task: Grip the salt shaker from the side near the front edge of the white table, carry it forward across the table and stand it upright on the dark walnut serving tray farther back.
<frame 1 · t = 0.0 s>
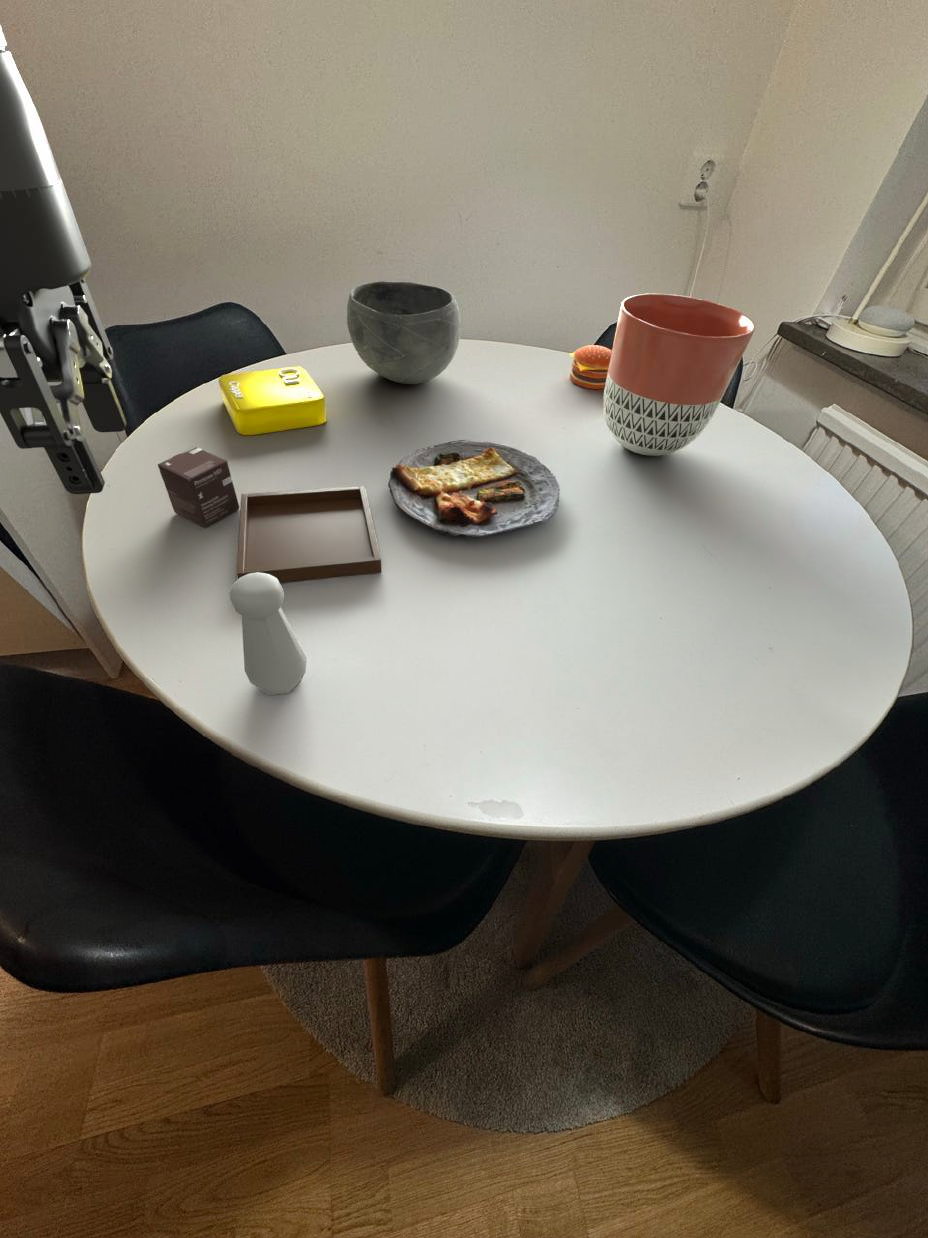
hand: (100, 458, 39), 23 cm above the table, tool pointing down, fingers open, 8 cm apart
planter: (642, 447, 96), on the table
hamburger: (590, 381, 115), on the table
food plate: (472, 496, 81), on the table
tray: (309, 538, 71), on the table
bowl: (404, 378, 109), on the table
box: (208, 512, 74), on the table
salt shaker: (280, 680, 55), on the table
element tile: (275, 412, 95), on the table
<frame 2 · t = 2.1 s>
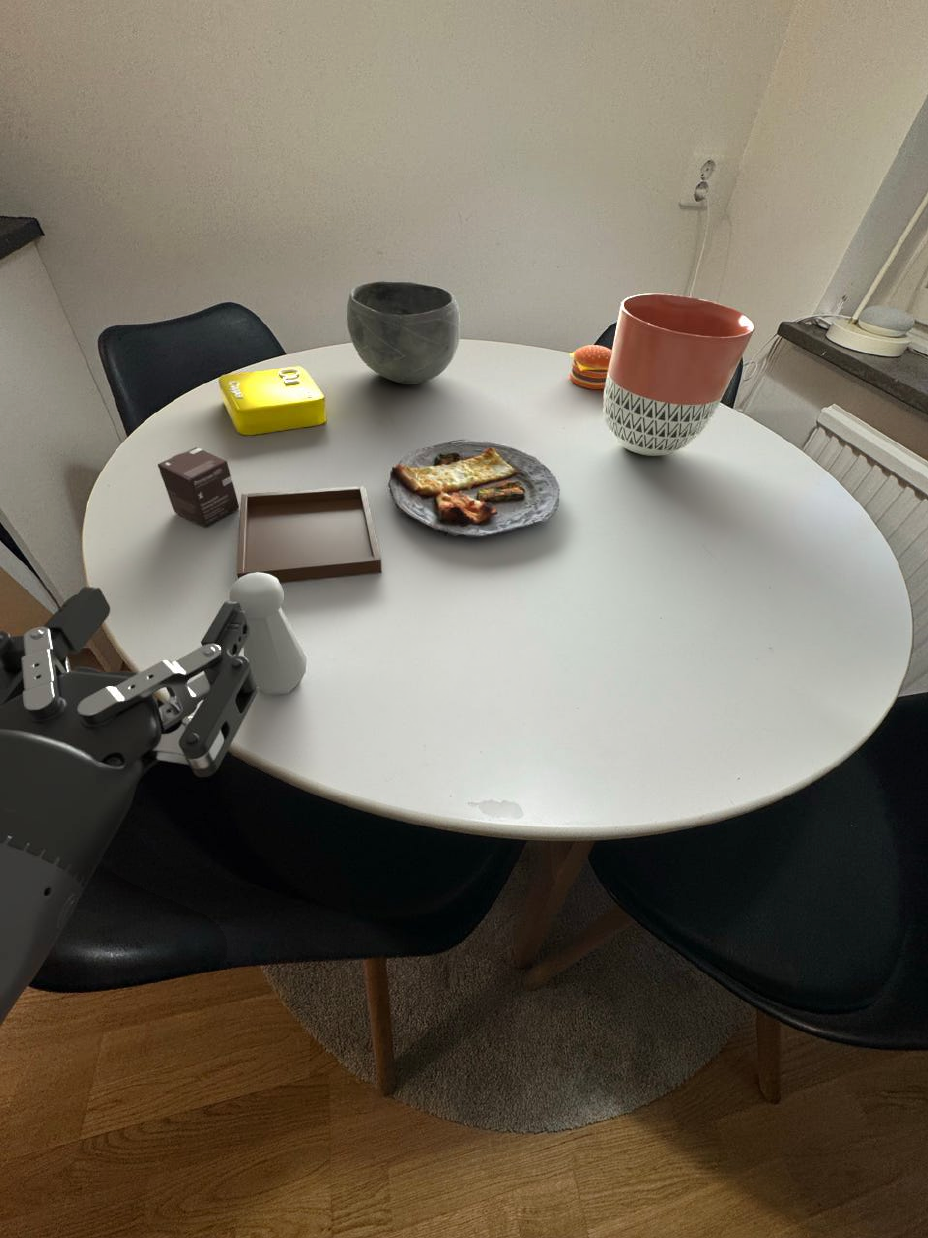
hand: (167, 604, 33), 20 cm above the table, tool horizontal, fingers open, 8 cm apart
nothing on the table moved.
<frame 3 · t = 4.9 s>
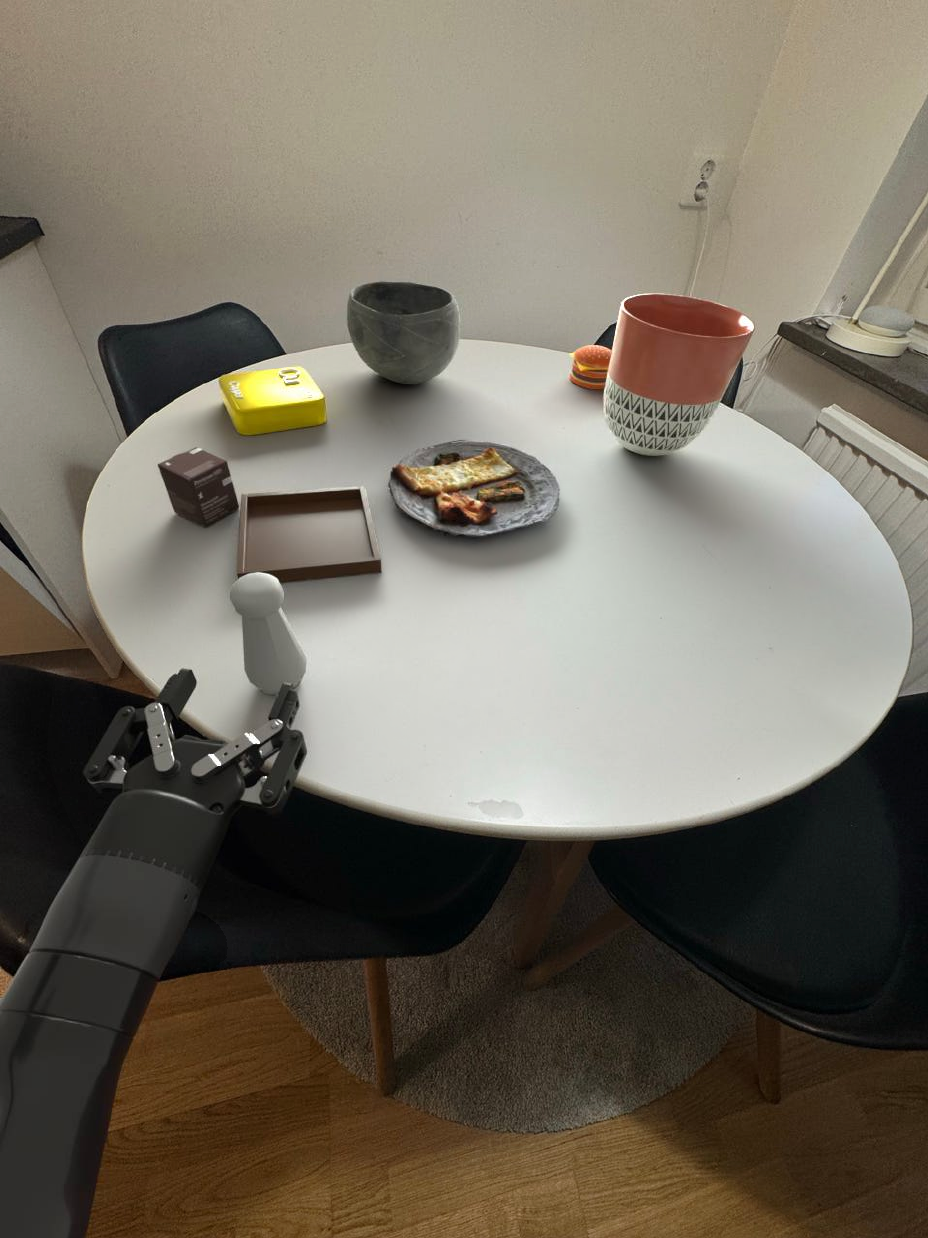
hand: (239, 681, 46), 8 cm above the table, tool horizontal, fingers open, 8 cm apart
nothing on the table moved.
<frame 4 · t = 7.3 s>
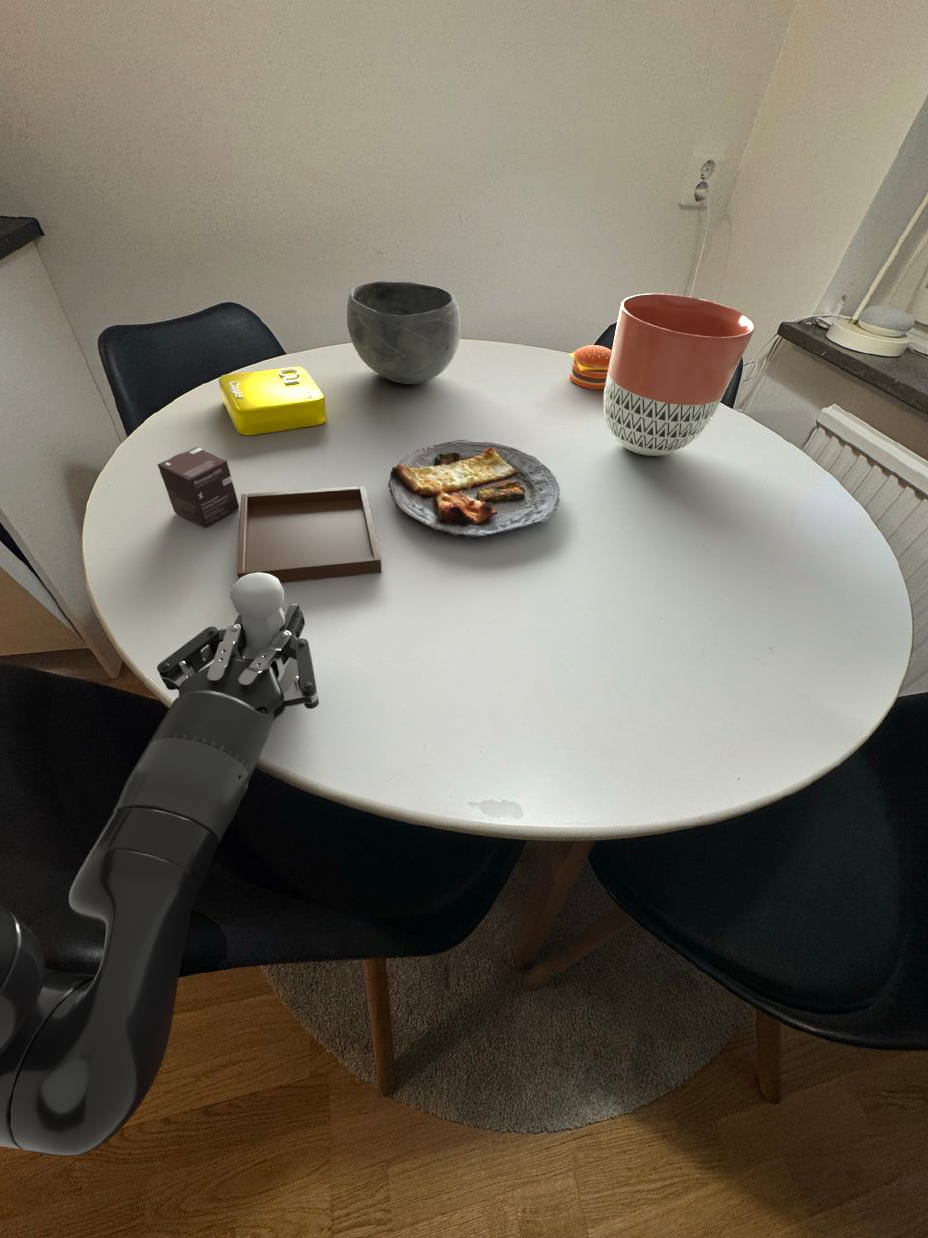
hand: (277, 608, 52), 7 cm above the table, tool horizontal, fingers closed on salt shaker, 3 cm apart
salt shaker: (280, 680, 55), on the table, touching gripper
everything else where it was.
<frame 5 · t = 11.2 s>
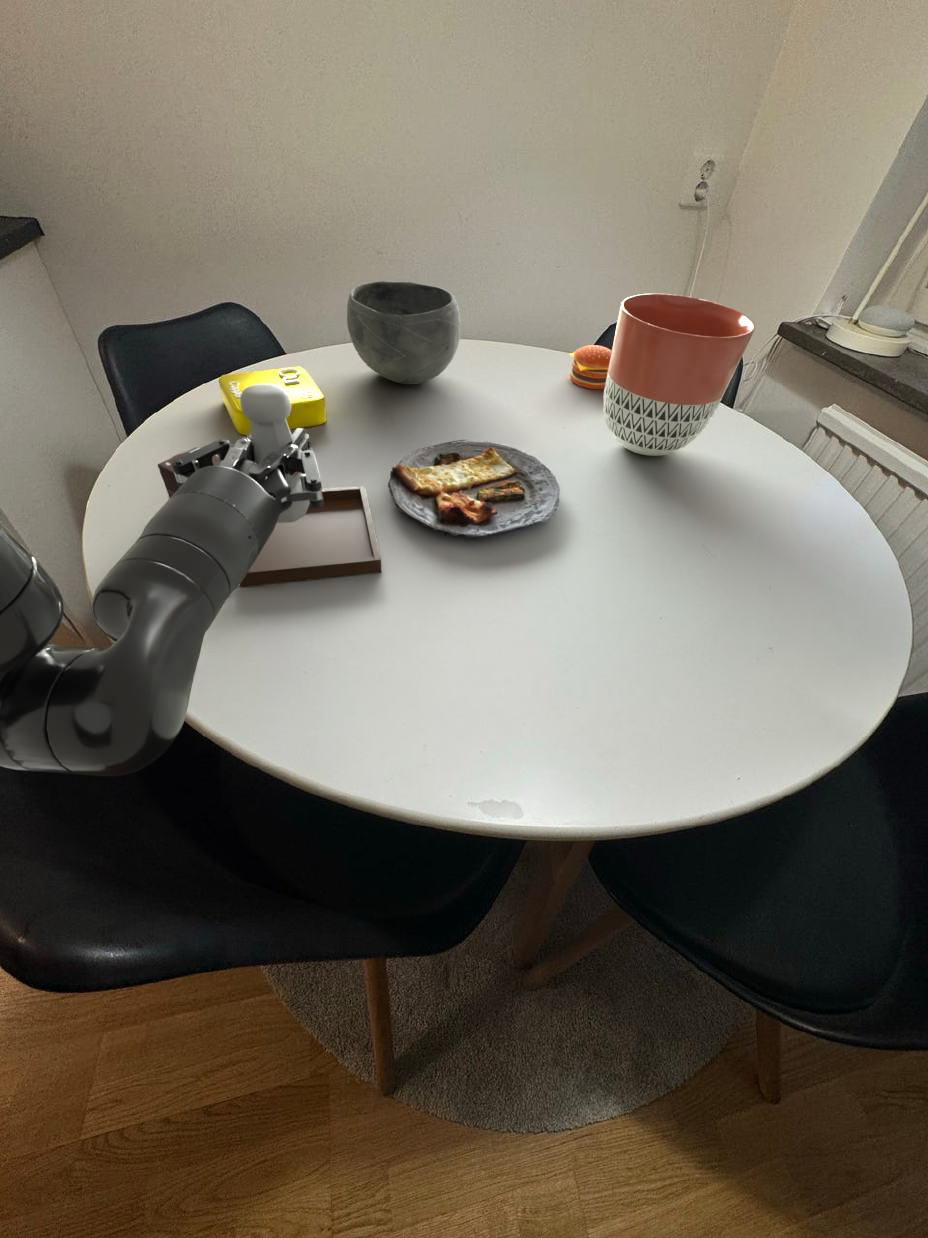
hand: (285, 435, 55), 18 cm above the table, tool horizontal, fingers closed on salt shaker, 3 cm apart
salt shaker: (286, 513, 58), point 10 cm above the table, touching gripper
everything else where it was.
when the fingers open (8 cm above the table, at t = 15.4 s): salt shaker stays where it is, resting on tray.
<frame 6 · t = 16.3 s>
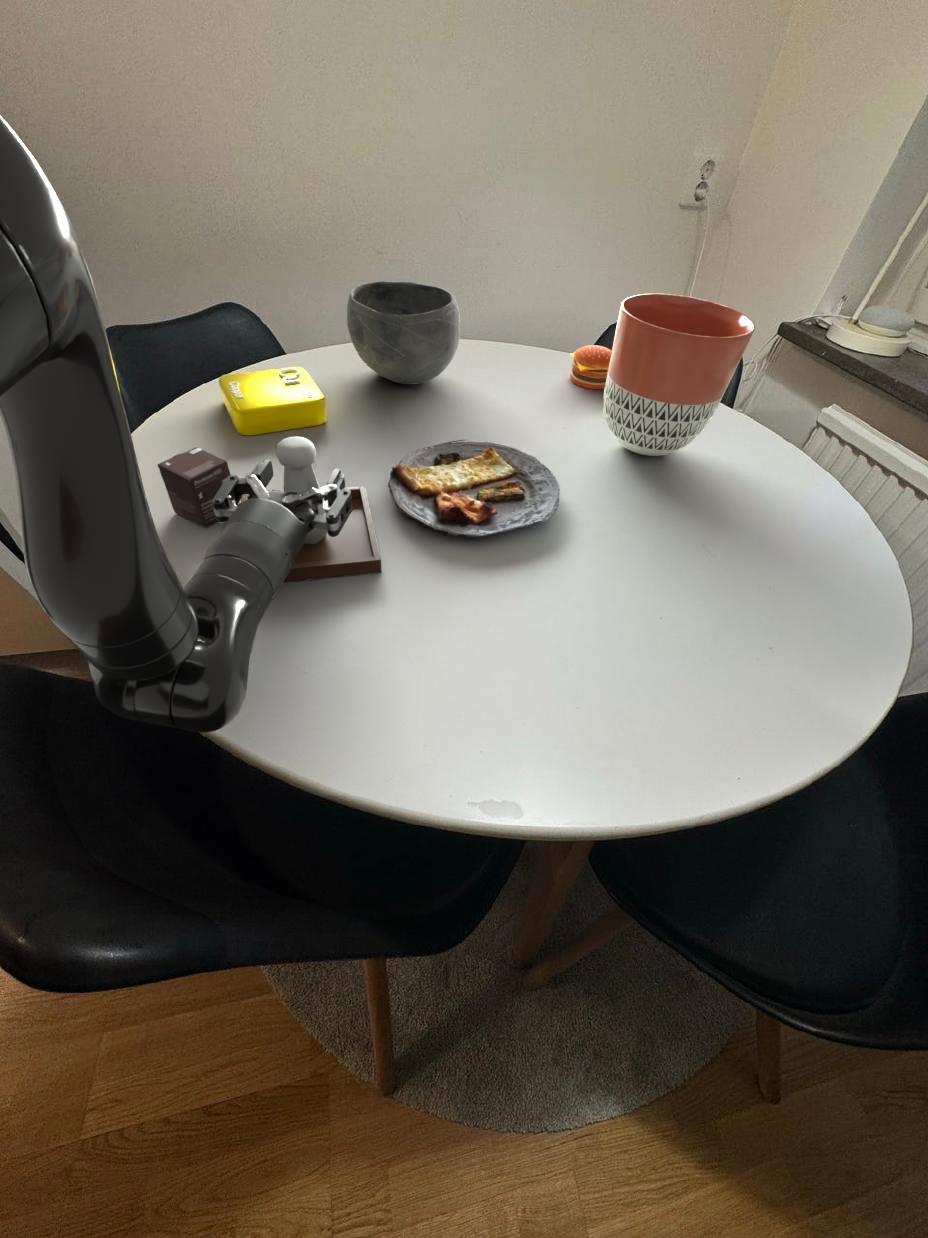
hand: (304, 471, 66), 9 cm above the table, tool horizontal, fingers open, 8 cm apart
salt shaker: (309, 536, 71), resting on tray
everything else where it was.
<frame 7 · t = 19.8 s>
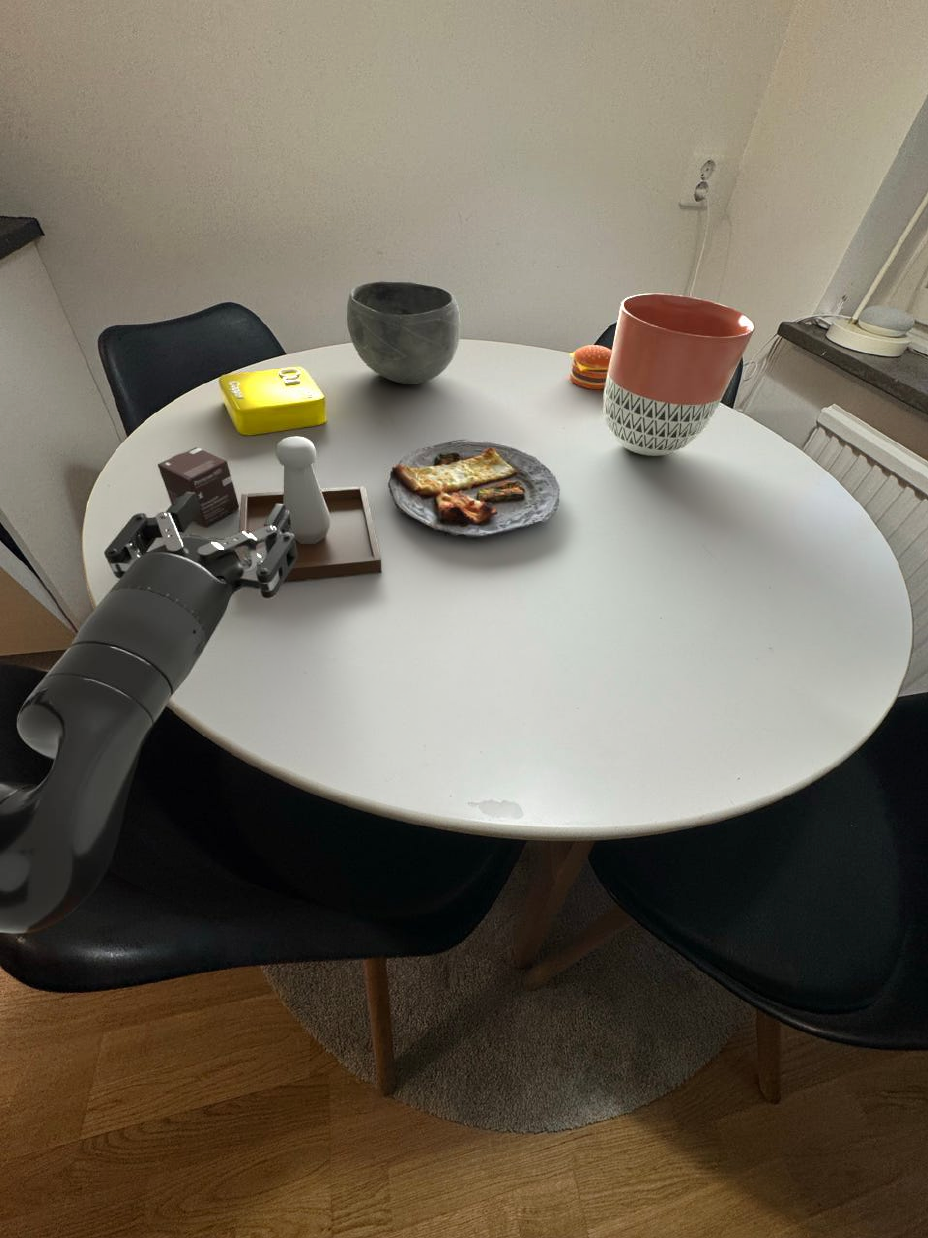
hand: (238, 505, 52), 14 cm above the table, tool horizontal, fingers open, 8 cm apart
nothing on the table moved.
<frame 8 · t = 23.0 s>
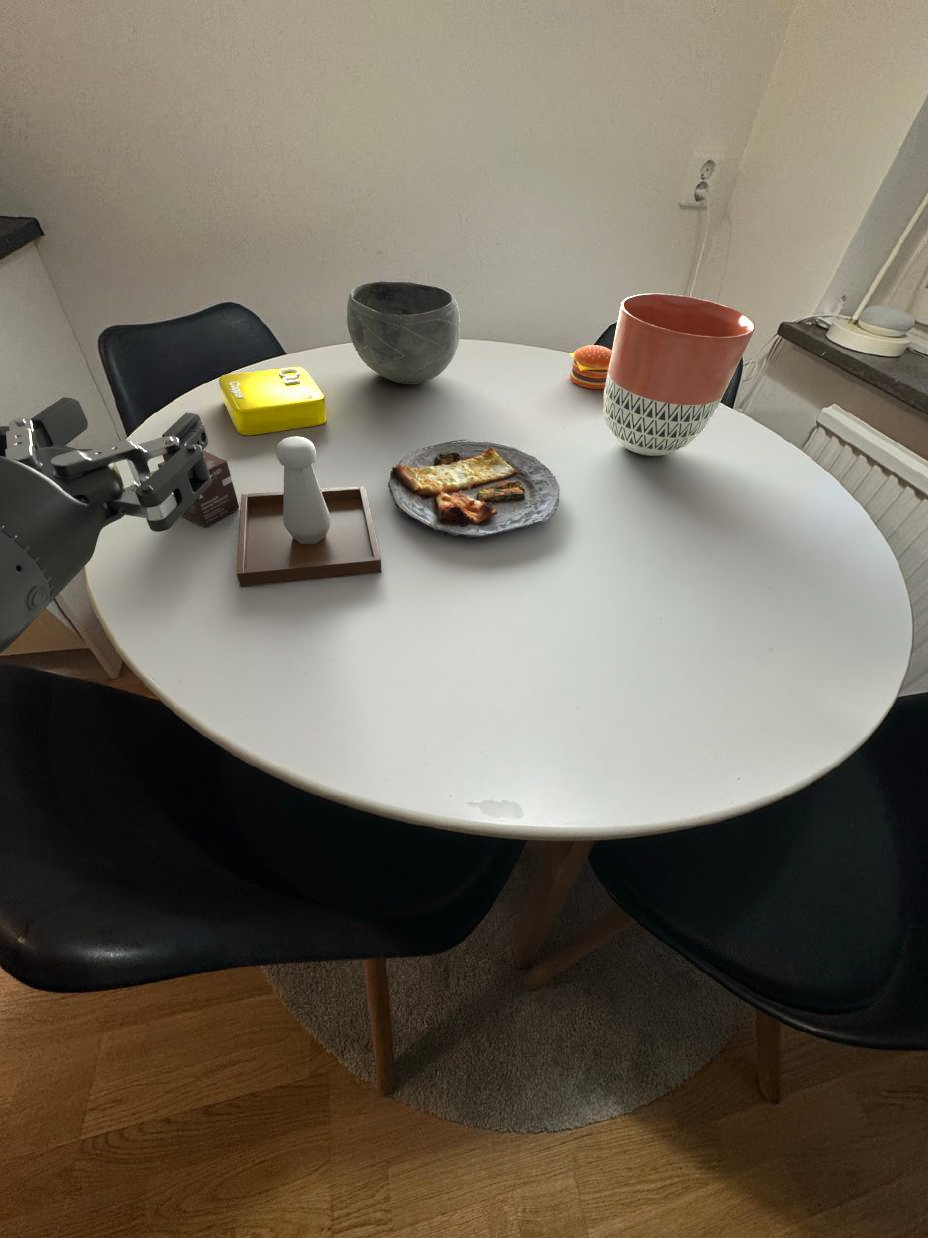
hand: (137, 418, 38), 26 cm above the table, tool horizontal, fingers open, 8 cm apart
nothing on the table moved.
at the end: salt shaker inside the target area in the tray (0.1 cm from its centre), point 0.4 cm above the tray's base; salt shaker tilted 0°; salt shaker moved 23.2 cm from its start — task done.
